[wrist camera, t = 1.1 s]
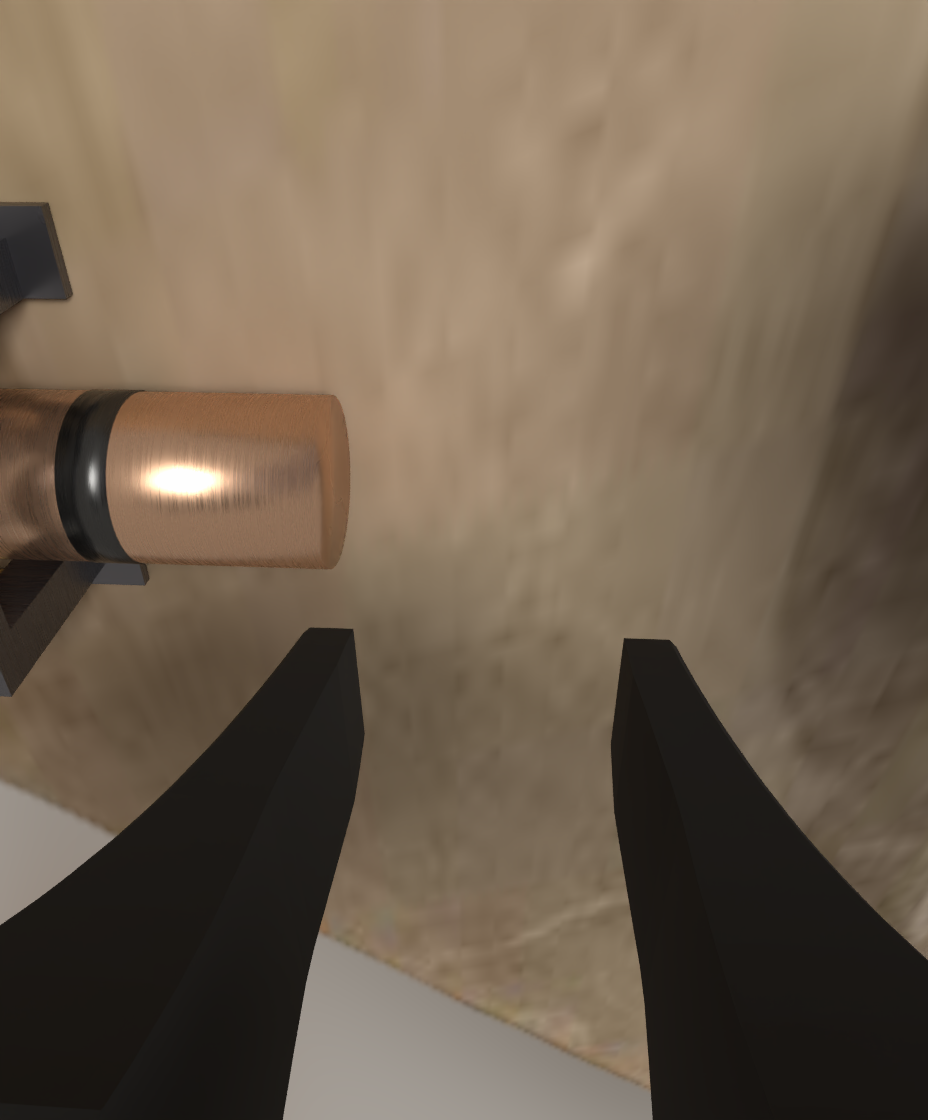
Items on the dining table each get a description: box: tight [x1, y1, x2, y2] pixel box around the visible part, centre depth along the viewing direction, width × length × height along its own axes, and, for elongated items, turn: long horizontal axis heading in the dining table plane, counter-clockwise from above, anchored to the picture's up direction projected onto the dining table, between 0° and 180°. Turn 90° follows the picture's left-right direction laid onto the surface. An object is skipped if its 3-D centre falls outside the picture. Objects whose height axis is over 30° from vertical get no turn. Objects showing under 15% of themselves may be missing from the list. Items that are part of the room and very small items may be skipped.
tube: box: [0, 389, 350, 569], centre depth 18 cm, size 9×4×4 cm, turn 91°
